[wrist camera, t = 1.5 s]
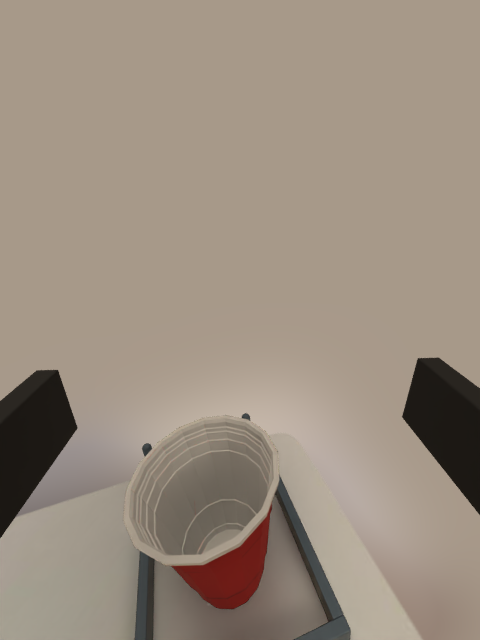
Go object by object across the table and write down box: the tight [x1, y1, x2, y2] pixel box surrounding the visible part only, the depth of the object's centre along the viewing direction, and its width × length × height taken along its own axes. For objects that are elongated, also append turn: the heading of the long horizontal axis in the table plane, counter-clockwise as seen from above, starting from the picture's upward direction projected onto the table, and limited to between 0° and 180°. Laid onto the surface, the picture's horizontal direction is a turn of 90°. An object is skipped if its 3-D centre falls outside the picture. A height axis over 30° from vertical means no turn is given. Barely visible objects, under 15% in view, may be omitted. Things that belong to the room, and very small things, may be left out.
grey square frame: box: [135, 413, 351, 640], centre depth 22 cm, size 14×14×9 cm
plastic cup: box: [123, 415, 279, 609], centre depth 21 cm, size 11×11×12 cm
